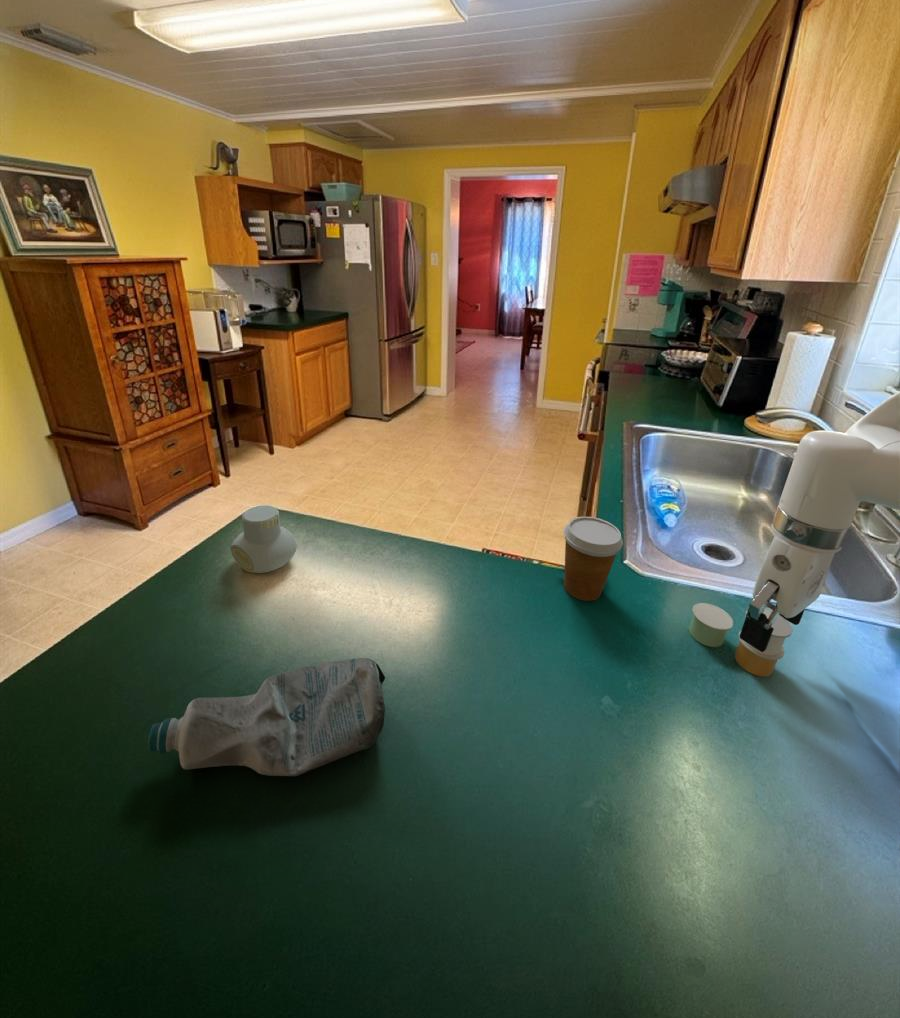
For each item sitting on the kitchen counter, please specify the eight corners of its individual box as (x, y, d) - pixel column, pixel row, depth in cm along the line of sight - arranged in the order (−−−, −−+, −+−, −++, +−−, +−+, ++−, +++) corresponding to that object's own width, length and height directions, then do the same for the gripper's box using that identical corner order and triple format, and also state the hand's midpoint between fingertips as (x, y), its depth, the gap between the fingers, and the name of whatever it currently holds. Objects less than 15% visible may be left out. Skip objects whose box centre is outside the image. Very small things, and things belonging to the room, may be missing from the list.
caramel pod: (763, 651, 71) (772, 631, 70) (783, 682, 66) (792, 661, 64) (725, 645, 72) (732, 625, 70) (741, 676, 66) (749, 655, 65)
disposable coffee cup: (553, 600, 79) (564, 540, 74) (555, 567, 87) (565, 511, 83) (612, 613, 77) (627, 551, 72) (608, 577, 85) (621, 520, 81)
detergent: (381, 671, 63) (175, 698, 57) (383, 633, 60) (165, 657, 54) (392, 775, 52) (136, 822, 46) (395, 735, 49) (121, 780, 43)
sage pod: (717, 624, 76) (724, 605, 74) (732, 651, 71) (739, 631, 69) (681, 620, 76) (687, 600, 75) (693, 646, 71) (700, 626, 70)
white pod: (771, 630, 70) (779, 610, 68) (791, 660, 64) (801, 639, 63) (731, 625, 70) (739, 604, 69) (748, 654, 65) (757, 633, 64)
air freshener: (227, 560, 84) (220, 511, 80) (268, 540, 90) (263, 494, 86) (262, 586, 78) (256, 535, 74) (304, 563, 84) (301, 515, 80)
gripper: (811, 562, 53) (767, 676, 59) (870, 523, 62) (826, 625, 68) (743, 530, 59) (709, 637, 65) (805, 498, 68) (770, 595, 74)
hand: (769, 631), depth 66 cm, fingers open, 9 cm apart
